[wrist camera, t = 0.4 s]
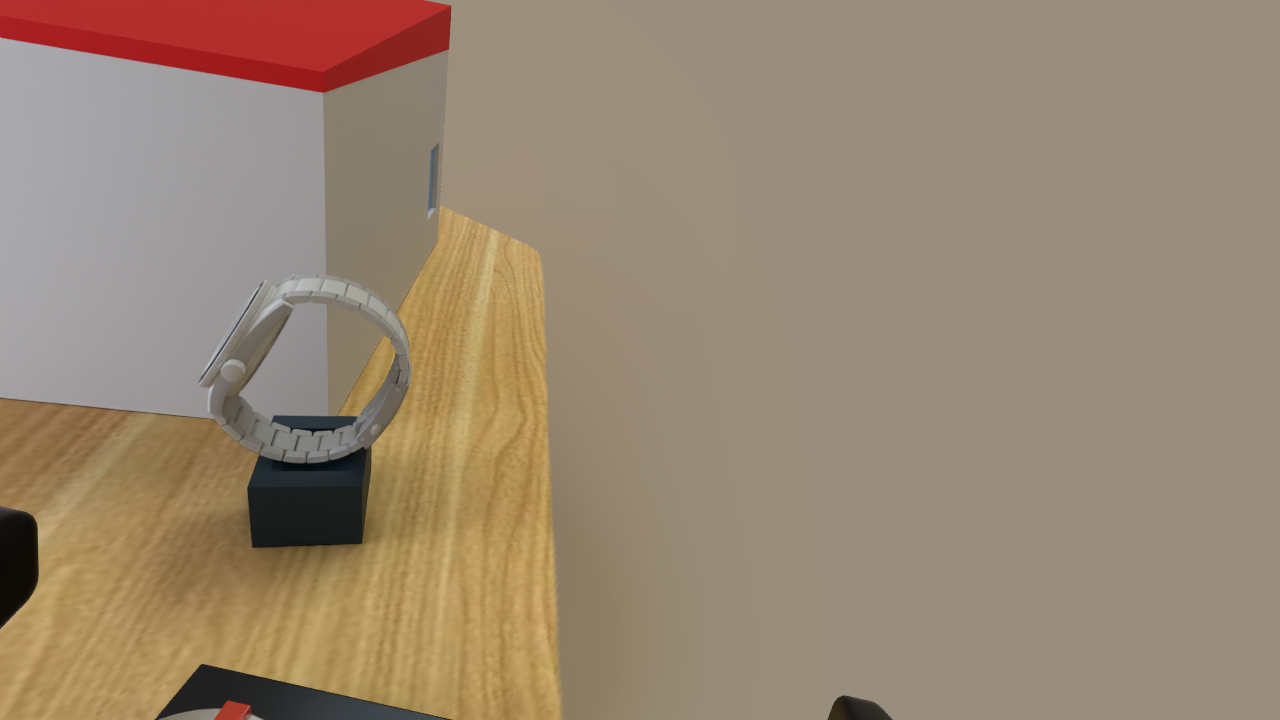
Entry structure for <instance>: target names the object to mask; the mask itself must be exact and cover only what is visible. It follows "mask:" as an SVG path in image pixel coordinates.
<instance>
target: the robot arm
mask: <svg viewBox="0 0 1280 720" xmlns="http://www.w3.org/2000/svg"><path fill="white" fill-rule="evenodd" d="M38 576H39V567H38V527H37V522H36V521H35V519H34V517H33V516H32V515H30V514H29V513H27V512H24V511H19V510H15V509H10V508H6V507H2V506H0V629H1V628H2V627H3V626H4V625H5V624H6V623H7V622H8V620H9V619H10V618H11V617H12V616H13V615H14V614H15V613H16V612H17V611H18V610H19V609H20V608H21V607H22V606H23V605H24V604H25V603H26V602H27V601H28V599H29V598H30V597H31V595H32V594H33V592H34V590H35V588H36V586H37V582H38ZM828 720H892V719H891V717H890V716H889V715H888V714H887V713H886V712H885V711H884V710H883V709H882V708H881V707H880V706H879V705H878V704H876V703H874V702H872V701H868V700H863V699H858V698H854V697H850V696H841V697H839V698H837V700H836V701H835V702H834V704H833V706H832V710H831V712H830V714H829V717H828Z"/></svg>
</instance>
